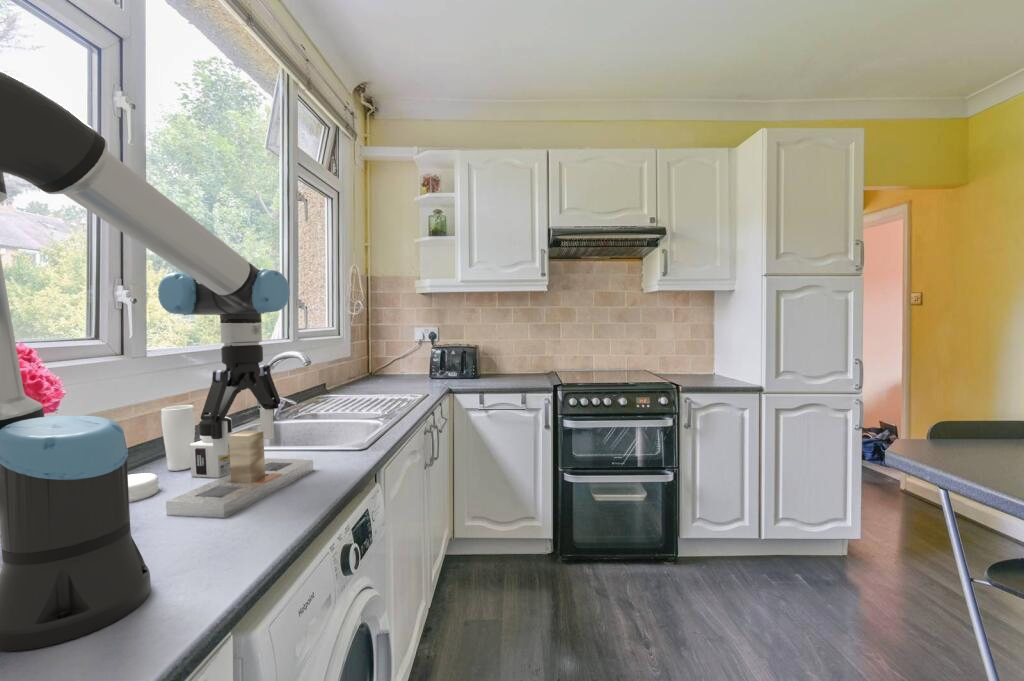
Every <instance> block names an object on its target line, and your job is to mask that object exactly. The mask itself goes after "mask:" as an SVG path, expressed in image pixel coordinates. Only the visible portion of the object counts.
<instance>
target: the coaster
mask: <svg viewBox="0 0 1024 681" xmlns="http://www.w3.org/2000/svg"><path fill="white" fill-rule="evenodd" d="M158 480H159V476H158V475H157V474H155V473H152V472H148V473H147V472H144V473H143V472H141V473H132V474H128V491H129V503H133V502H137V501H140V500H144V499H147V498H149V497H151V496H154V495H155V494H157V493H158V492H159V489H160V487H159V481H158Z"/></svg>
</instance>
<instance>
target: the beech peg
mask: <svg viewBox="0 0 1024 681" xmlns="http://www.w3.org/2000/svg"><path fill="white" fill-rule="evenodd" d="M264 442H265V439H264V436H263V431H260V430H243V431H239V432H236V433H232V435H230V436H229V449H230V470H231V483H253V482H255V481H257V480H259V479H261V478H263V477H265V459H266V458H265V443H264Z"/></svg>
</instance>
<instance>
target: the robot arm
mask: <svg viewBox="0 0 1024 681" xmlns="http://www.w3.org/2000/svg"><path fill="white" fill-rule="evenodd" d="M4 173H5V174H8V175H11V176H14V177H17V178H19V179H22V180H24V181H26V182H28V183H29V184H32V185H33V186H35V187H37V189H40V190H41V191H43V192H44V193H46V194H49V195H65V196H66V197H68V199H71V200H72V201H74V202H75V203H77V204H78V205H80V206H81V207H83V208H84V209H86V211H89V212H90V213H92V214H93V215H95V216H97V217H98V218H100V219H102V220H103V221H105V223H107V224H108V225H110V226H112V227H114V228H115V229H116V230H118V231H120V232H121V233H123V234H124V235H125V236H127V237H129V238H130V239H132V240H134V241H135V242H137V243H138V244H140V245H141V246H143V247H144V248H146V249H147V250H149V251H151V253H154V254H155V255H157V256H158V257H160V258H161V259H163V260H164V261H165V262H167V263H169V264H170V265H172V266H173V267H174V268H176V269H178V270H180V271H181V272H171V273H168V274H166V275H165V276H163V278H162V279H161V281H160V282H159V284H158V288H157V291H158V296H157V298H158V301H159V303H160V305H161V307H162V308H163V309H164V310H165V311H166V312H167V313H170V314H173V315H183V316H191V315H192V316H193V315H194V316H195V315H197V316H200V315H201V316H210V315H211V316H212V315H213V316H219V319H220V321H219V322H220V327H219V328H220V343H221V344H224V345H222V347H221V348H220V352H221V354H220V355H221V363H222V364H223V365H225V369H223V370H222V369H221V370H220V369H219V370H218V369H217V370H216V369H214V370H213V371H212V378H211V380H212V381H211V384H210V388H209V390H208V393H207V396H206V400H205V403H204V406H203V409H202V412H201V414H200V421H202V420H205V421H206V422H210V424H211V438H212V439H213V455H228V425H227V421H223V420H224V418H225V417H227V414H228V413H229V411H230V409H231V406H232V405H233V402H234V401H235V399H236V397H237V396H238V394H239V393H241V392H242V391H243V390H244V391H245V390H247V389H248V390H250V391H251V393H252V395H253V396H254V398H255V399H256V400H257V402H258V403H259V405H261V407H262V409H259V422H260V424H259V425H260V426H259V427H260V428H259V429H260V430H259V431H263V436H264V440H273V439H274V438H275V435H274V434H275V432H274V428H275V427H274V422H275V411H274V410H275V409H276V410H277V409H279V405H280V404H281V403H282V401H281V398H280V395H279V393H278V391H277V388H276V386H275V385H276V384H275V383H274V379H273V378H272V375H271V374H272V373H271V367H270V365H269V364H261V363H262V362H263V361H264V350H263V348H264V347H263V346H262V344H260V343H262V342H263V330H262V315H263V314H267V313H274V312H279V311H281V310H283V309H284V308H285V307H286V305H288V301H289V298H290V291H291V290H290V285H289V283H288V280H287V278H286V277H285V276H284V274H282V273H281V272H280V271H277V270H274V269H271V270H270V269H266V268H264V269H262V270H261V269H258V268H257V267H256V266H255V265H253V264H252V263H250V262H249V261H248V260H246V258H244V257H243V256H242V255H240V254H239V253H238V252H237V251H235V250H234V249H232V247H230V246H229V245H228V244H227V243H226V242H224V241H223V240H221V239H220V238H219V237H218V236H216V235H215V234H214V233H212V232H211V231H210V230H208V229H207V228H206V227H205V226H204V225H202V224H201V223H200V222H199V221H197V220H196V219H195V218H193V217H192V216H191V215H190V214H189V213H187V212H186V211H185V210H183V209H182V208H181V207H180V206H178V205H177V204H176V203H174V202H173V201H172V200H171V199H170V198H168V197H167V196H166V195H164V194H163V193H162V192H160V190H158V189H156V187H155V186H153V185H151V184H150V183H149V182H148V181H147V180H145V179H144V178H143V177H142V176H140V175H139V174H137V172H135V171H134V170H133V169H132V168H130V166H127V164H125V163H124V162H123V161H121V160H120V159H119V158H117V157H116V156H115V155H114V154H112V153H111V152H110V151H109V146H108V141H107V139H106V137H104V136H103V135H101V134H100V133H99V132H98V131H96V130H95V129H94V128H93V127H92V126H90V125H89V124H88V123H86V122H85V121H84V120H83V119H81V118H80V116H79V117H78V115H76V114H74V112H73V111H71V110H70V109H68V108H66V107H65V106H63V105H62V104H61V103H59V102H58V101H55V100H54V99H53V98H51V97H50V96H48V95H47V94H45V93H43V92H42V91H40V90H39V89H37V88H35V87H33V86H32V85H30V84H28V83H27V82H25V81H22V80H21V79H18V78H17V77H15V76H13V75H11V74H8V73H6V72H5V71H2V70H0V204H2V203H3V202H4V201H6V200H7V199H8V193H7V188H6V182H5V176H4ZM2 262H3V261H2V257H1V255H0V546H1V559H2V562H1V563H2V566H1V570H0V651H8V652H9V651H10V652H11V651H12V652H13V651H15V652H16V651H24V650H25V651H26V650H33V649H39V648H46V647H47V646H53V645H57V644H61V643H64V642H67V641H70V640H74V639H76V638H80V637H82V636H85V635H88V634H90V633H92V632H95V631H97V630H99V629H102V628H104V627H107V626H109V625H110V624H112V623H114V622H116V621H119V620H120V619H121V618H124V617H125V616H127V615H128V614H130V613H132V612H133V611H134V610H135V609H137V608H138V607H139V606H141V605H142V604H143V603H144V602H145V601H146V600H147V598H148V597H149V596H150V594H151V590H152V586H151V582H152V581H151V572H150V570H149V568H148V567H149V566H148V565H146V563H145V561H144V558H143V556H142V553H141V552H140V550H139V548H138V546H137V544H136V542H135V540H134V538H133V536H132V532H131V513H130V512H131V510H130V502H129V491H128V475H129V472H128V457H129V449H128V446H127V442H126V437H125V431H124V428H123V427H122V426H121V424H120V423H118V422H117V421H115V420H114V419H113V420H112V419H111V418H107V417H102V416H97V415H87V414H85V415H83V414H82V415H81V414H80V415H68V414H67V415H66V414H65V415H63V414H62V415H50V416H45V414H44V407H43V404H42V403H41V402H40V401H37V400H35V399H33V398H31V397H29V396H28V395H26V393H25V390H24V385H23V378H22V373H21V366H20V361H19V354H18V349H17V344H16V337H15V333H14V331H15V330H14V324H13V321H12V314H11V307H10V304H9V303H10V302H9V297H8V296H9V295H8V292H7V286H6V281H5V275H4V267H3V263H2Z"/></svg>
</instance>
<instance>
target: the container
mask: <svg viewBox="0 0 1024 681" xmlns="http://www.w3.org/2000/svg"><path fill="white" fill-rule="evenodd" d="M223 421H227V425H228V455H213V439H212V438H211V424H210V422H206V421H205V420H200V421H199V422H198V423H199V424H198V425H199V426H198V427H199V439H200V440H198V441H196V442H195V441H194V443H191V444H190V460H191V468H190V473H191V474H190V475H191V477H192V478H209V479H211V478H212V479H213V478H214V479H220V478H222V477H225V476H227V475H229V474H231V470H230V449H229V436H230V435H233V420H232V418H231V417H229V416H225V418H224V420H223Z"/></svg>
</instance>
